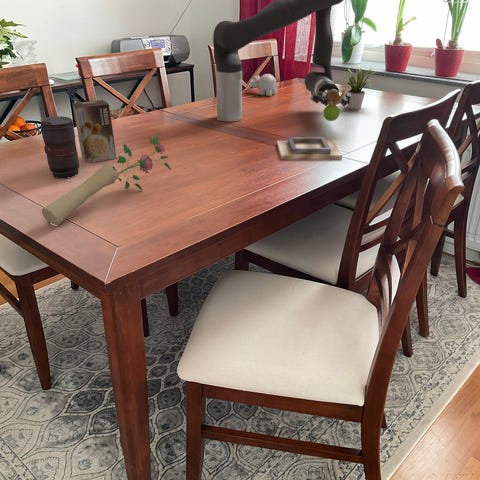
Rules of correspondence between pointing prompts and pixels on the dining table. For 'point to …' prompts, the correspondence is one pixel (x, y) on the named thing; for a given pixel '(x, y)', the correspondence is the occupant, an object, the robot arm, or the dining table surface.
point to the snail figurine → (333, 104)
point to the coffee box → (94, 130)
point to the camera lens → (60, 146)
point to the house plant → (357, 88)
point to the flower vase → (98, 184)
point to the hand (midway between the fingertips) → (335, 102)
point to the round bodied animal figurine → (265, 84)
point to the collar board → (308, 148)
